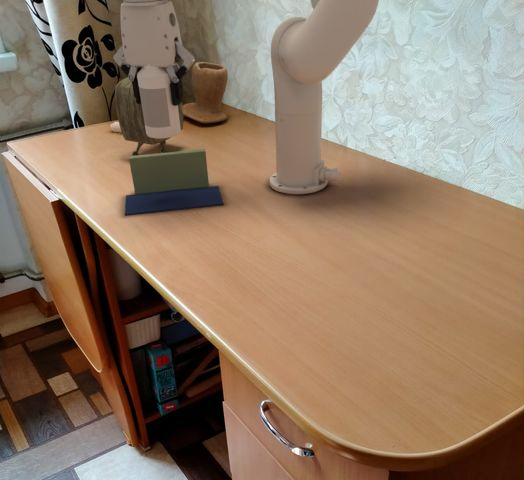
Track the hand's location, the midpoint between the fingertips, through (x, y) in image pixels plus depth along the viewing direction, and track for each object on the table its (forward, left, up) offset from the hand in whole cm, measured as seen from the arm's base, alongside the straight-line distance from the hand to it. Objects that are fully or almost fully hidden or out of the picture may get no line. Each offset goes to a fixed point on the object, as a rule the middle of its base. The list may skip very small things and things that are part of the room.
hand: (159, 102), depth 109 cm
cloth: (0, +1, -20) cm, 20 cm away
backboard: (+2, -5, -20) cm, 20 cm away
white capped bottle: (0, 0, -6) cm, 6 cm away
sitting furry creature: (+32, -42, -20) cm, 57 cm away
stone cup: (+15, -56, -20) cm, 61 cm away
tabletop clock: (+16, -26, -20) cm, 37 cm away
